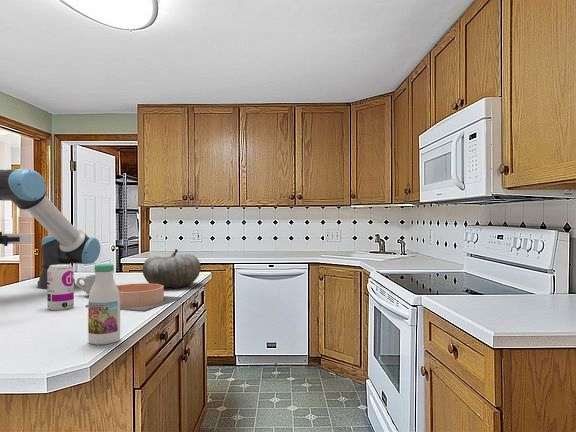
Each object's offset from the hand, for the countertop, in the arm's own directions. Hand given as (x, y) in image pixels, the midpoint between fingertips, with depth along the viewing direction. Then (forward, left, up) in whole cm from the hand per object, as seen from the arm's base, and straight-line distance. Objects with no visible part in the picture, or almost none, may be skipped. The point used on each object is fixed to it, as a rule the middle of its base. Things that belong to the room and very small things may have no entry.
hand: (27, 238), depth 152 cm
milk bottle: (+21, +48, -25) cm, 58 cm away
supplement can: (-8, +6, -25) cm, 27 cm away
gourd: (-60, +18, -25) cm, 68 cm away
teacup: (-31, +1, -25) cm, 40 cm away
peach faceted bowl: (-24, +25, -25) cm, 43 cm away
